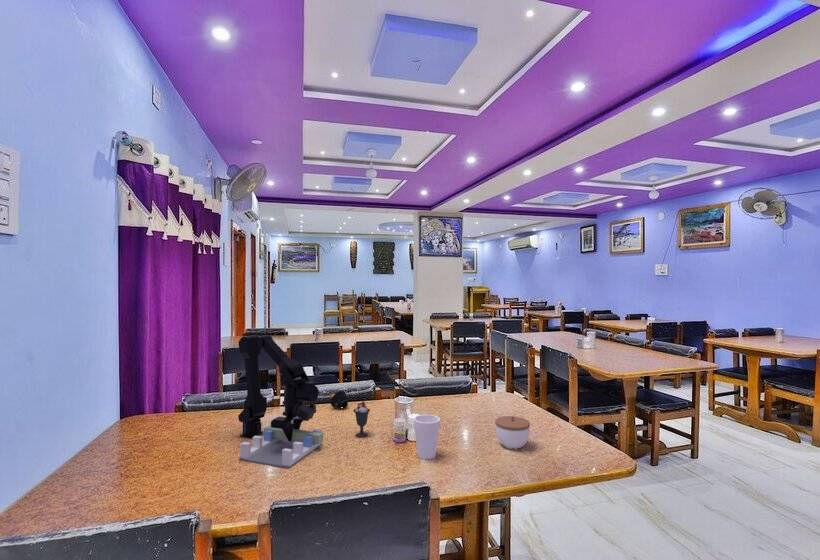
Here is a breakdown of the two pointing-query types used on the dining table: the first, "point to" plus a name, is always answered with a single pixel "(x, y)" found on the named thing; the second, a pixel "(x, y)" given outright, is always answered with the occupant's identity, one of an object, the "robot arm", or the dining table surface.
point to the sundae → (361, 418)
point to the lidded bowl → (512, 431)
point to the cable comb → (277, 450)
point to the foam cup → (426, 435)
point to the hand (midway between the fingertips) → (292, 439)
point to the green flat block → (296, 434)
